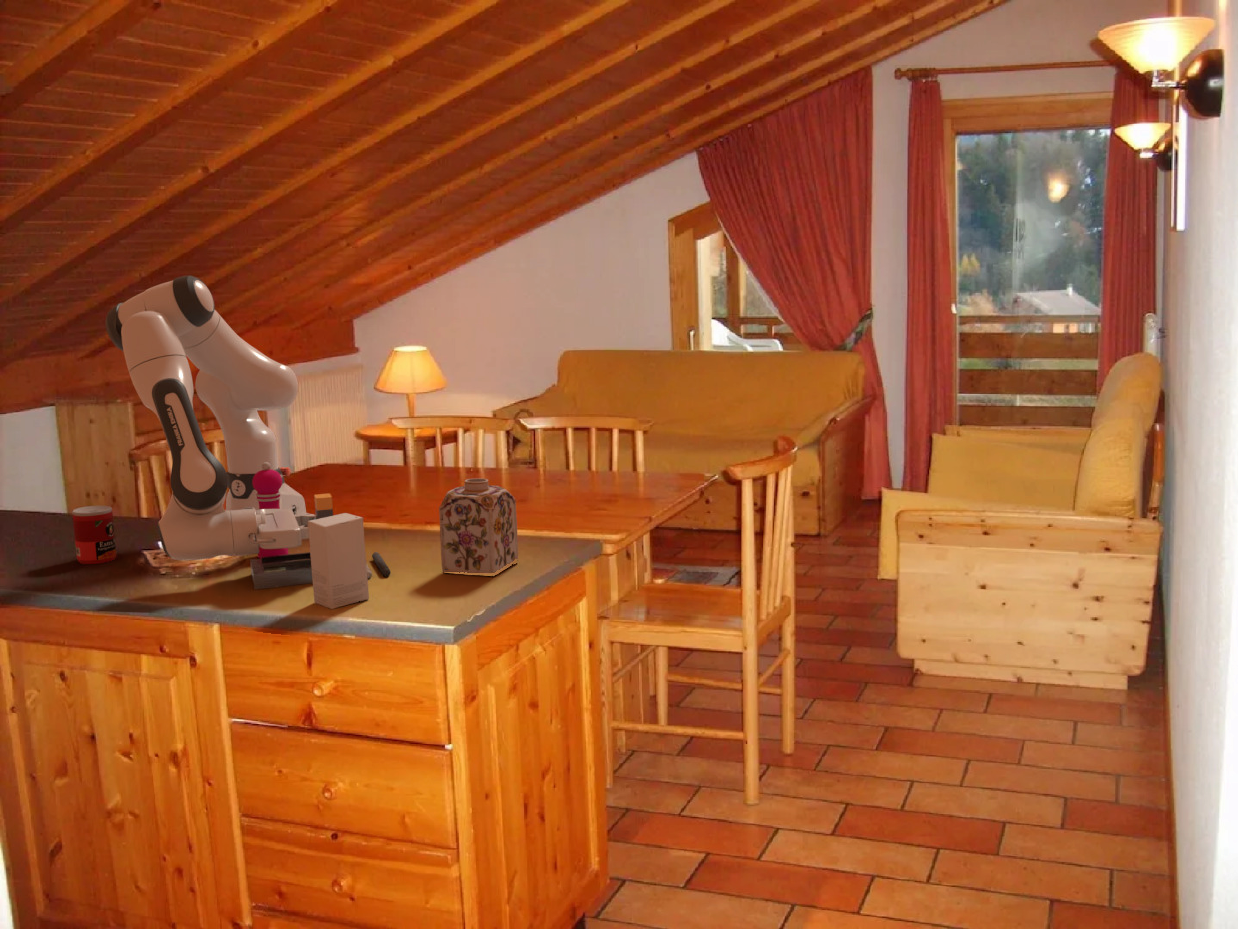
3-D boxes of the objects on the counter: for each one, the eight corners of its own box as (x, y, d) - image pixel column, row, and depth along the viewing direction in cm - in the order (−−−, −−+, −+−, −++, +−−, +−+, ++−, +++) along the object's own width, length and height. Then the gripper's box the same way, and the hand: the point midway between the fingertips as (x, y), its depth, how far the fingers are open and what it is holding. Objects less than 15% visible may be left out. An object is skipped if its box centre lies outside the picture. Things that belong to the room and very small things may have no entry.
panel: (254, 589, 239) (253, 569, 239) (251, 574, 251) (250, 554, 250) (350, 578, 245) (349, 558, 244) (343, 564, 256) (342, 545, 256)
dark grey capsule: (354, 561, 259) (353, 553, 258) (379, 558, 260) (379, 551, 260) (364, 579, 244) (363, 571, 244) (391, 576, 246) (390, 568, 246)
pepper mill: (297, 552, 268) (290, 459, 264) (278, 560, 261) (270, 465, 257) (268, 550, 270) (261, 458, 267) (248, 559, 263) (240, 464, 260)
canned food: (103, 565, 262) (98, 513, 260) (69, 564, 263) (63, 512, 261) (124, 556, 269) (119, 505, 267) (91, 555, 271) (85, 505, 269)
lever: (320, 560, 247) (316, 498, 244) (318, 555, 250) (314, 494, 248) (336, 558, 248) (331, 497, 245) (333, 554, 251) (329, 493, 249)
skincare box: (352, 593, 235) (346, 511, 232) (371, 600, 230) (365, 517, 227) (312, 603, 229) (305, 519, 226) (330, 610, 224) (324, 524, 222)
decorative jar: (440, 574, 247) (435, 484, 244) (467, 559, 258) (463, 473, 254) (495, 578, 243) (491, 486, 240) (520, 563, 253) (517, 475, 250)
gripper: (249, 526, 233) (325, 519, 237) (244, 505, 252) (315, 499, 256) (252, 560, 234) (327, 552, 238) (246, 536, 253) (317, 529, 257)
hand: (321, 524), depth 248 cm, fingers open, 8 cm apart
